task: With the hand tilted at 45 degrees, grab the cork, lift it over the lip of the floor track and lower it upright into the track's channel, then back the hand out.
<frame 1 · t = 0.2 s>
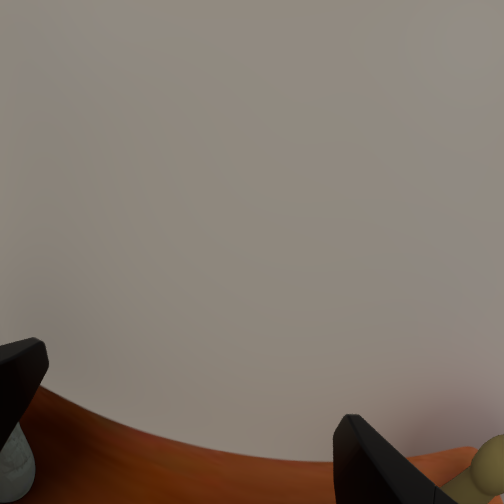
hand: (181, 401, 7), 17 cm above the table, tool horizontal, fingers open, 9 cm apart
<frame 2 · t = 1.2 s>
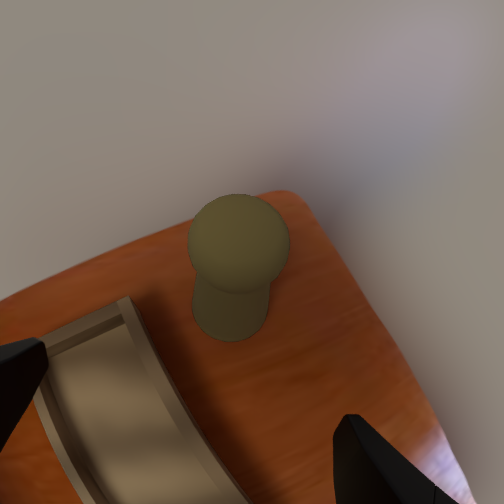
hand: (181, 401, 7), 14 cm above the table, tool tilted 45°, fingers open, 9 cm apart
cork: (229, 305, 23), on the table
track: (136, 450, 16), on the table
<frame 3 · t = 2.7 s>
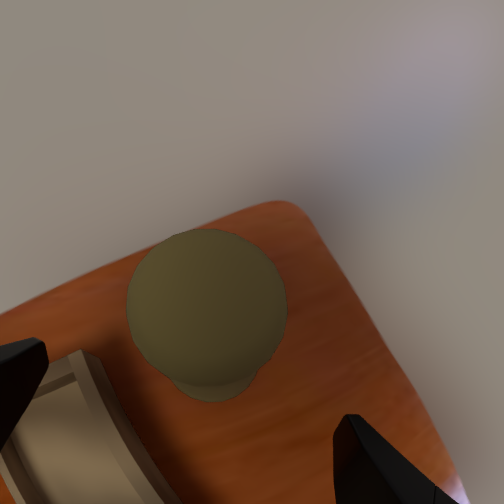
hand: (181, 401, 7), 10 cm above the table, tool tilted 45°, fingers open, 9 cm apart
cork: (211, 355, 17), on the table
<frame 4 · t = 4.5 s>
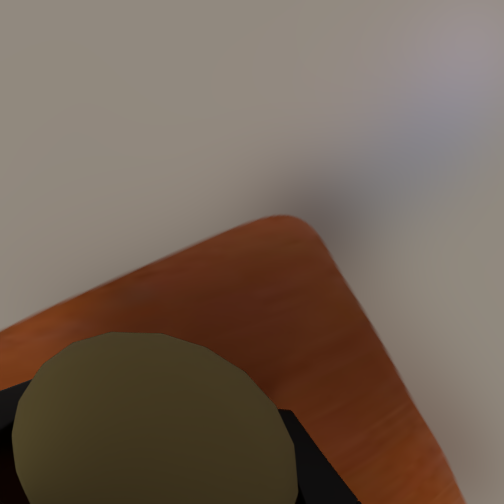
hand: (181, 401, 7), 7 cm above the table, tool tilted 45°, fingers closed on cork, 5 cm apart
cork: (192, 427, 12), on the table, touching gripper
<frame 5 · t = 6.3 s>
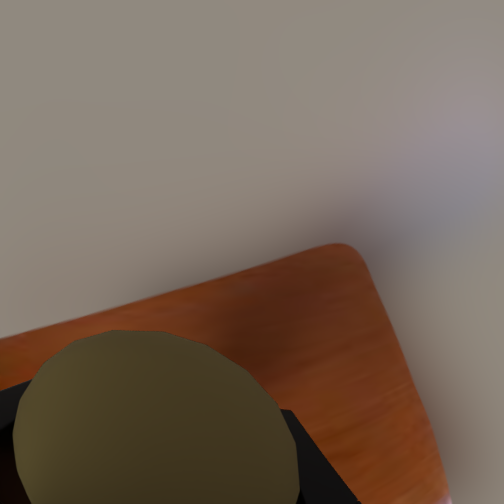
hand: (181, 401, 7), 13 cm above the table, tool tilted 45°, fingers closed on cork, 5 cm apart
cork: (192, 426, 12), point 6 cm above the table, touching gripper
when the fingers open (9 cm above the table, at t = 8.3 s): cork drops 1 cm, resting on track.
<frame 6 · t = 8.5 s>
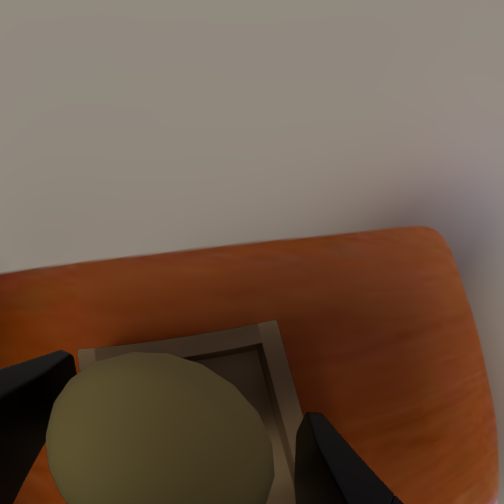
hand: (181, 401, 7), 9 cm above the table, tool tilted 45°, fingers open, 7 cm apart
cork: (194, 426, 13), point 1 cm above the table, touching track
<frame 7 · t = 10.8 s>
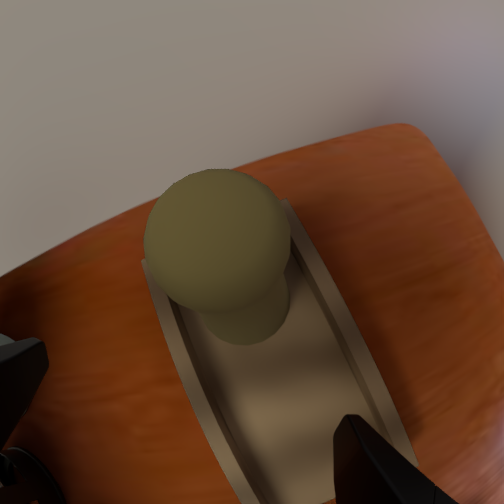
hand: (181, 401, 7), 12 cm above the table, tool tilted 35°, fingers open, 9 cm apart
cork: (244, 300, 19), point 1 cm above the table, touching track
track: (278, 374, 18), on the table
french press: (32, 488, 14), on the table
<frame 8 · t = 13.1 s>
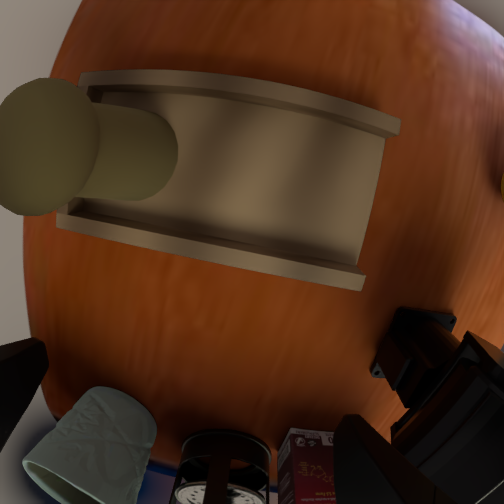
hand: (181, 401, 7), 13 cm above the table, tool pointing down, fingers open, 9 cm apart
lemon: (501, 186, 17), on the table
supplement box: (321, 441, 24), on the table
pale green plant pot: (117, 413, 24), on the table
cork: (135, 155, 17), point 1 cm above the table, touching track
track: (217, 166, 18), on the table
french press: (226, 455, 25), on the table
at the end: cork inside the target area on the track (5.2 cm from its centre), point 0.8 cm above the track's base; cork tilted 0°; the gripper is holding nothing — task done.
